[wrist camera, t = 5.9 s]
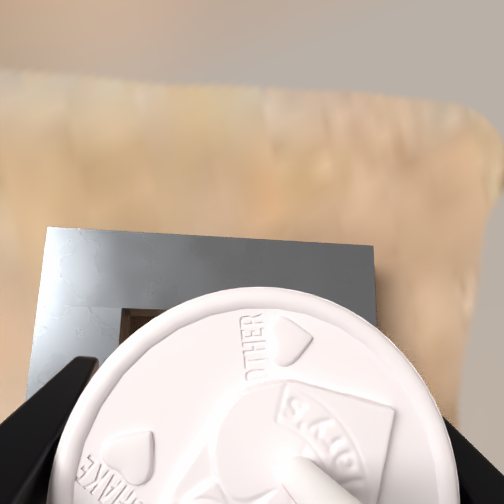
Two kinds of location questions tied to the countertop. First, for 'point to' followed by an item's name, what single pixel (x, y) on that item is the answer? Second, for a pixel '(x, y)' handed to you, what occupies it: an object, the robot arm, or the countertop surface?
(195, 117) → the countertop surface
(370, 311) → the socket block
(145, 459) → the smoothie
